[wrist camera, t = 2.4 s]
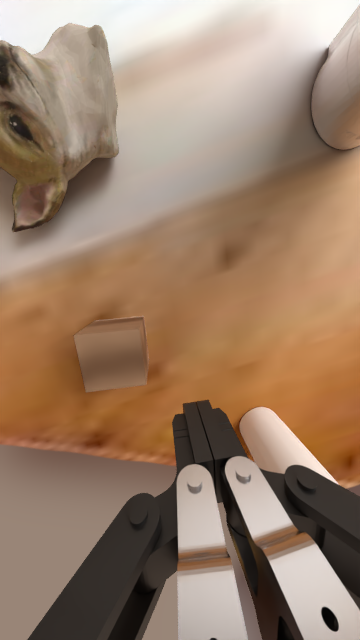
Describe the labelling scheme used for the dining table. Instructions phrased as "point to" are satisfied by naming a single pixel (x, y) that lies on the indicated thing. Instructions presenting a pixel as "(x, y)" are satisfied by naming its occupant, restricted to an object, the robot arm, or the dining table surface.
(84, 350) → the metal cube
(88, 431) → the dining table surface
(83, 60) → the ceramic sculpture
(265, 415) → the mug
